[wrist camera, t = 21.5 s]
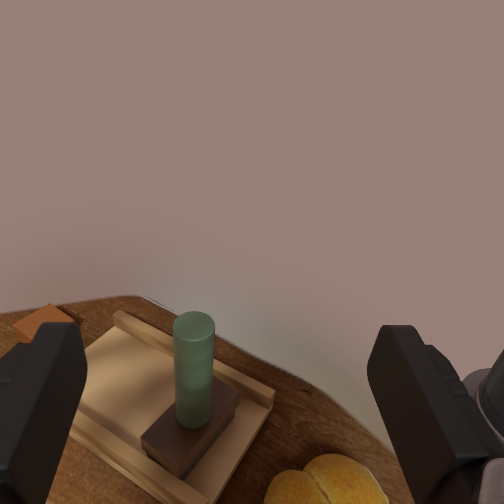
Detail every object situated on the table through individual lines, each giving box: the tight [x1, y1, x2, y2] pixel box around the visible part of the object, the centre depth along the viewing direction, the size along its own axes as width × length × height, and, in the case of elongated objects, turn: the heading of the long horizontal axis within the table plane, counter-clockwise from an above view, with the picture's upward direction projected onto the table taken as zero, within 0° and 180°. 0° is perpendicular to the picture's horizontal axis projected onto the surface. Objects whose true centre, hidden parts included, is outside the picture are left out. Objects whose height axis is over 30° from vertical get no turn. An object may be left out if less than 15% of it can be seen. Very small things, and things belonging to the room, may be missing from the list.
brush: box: [140, 311, 240, 481], centre depth 27 cm, size 4×7×12 cm, turn 146°
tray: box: [69, 310, 275, 504], centre depth 33 cm, size 18×11×3 cm, turn 61°
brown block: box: [12, 304, 75, 343], centre depth 38 cm, size 4×4×2 cm
